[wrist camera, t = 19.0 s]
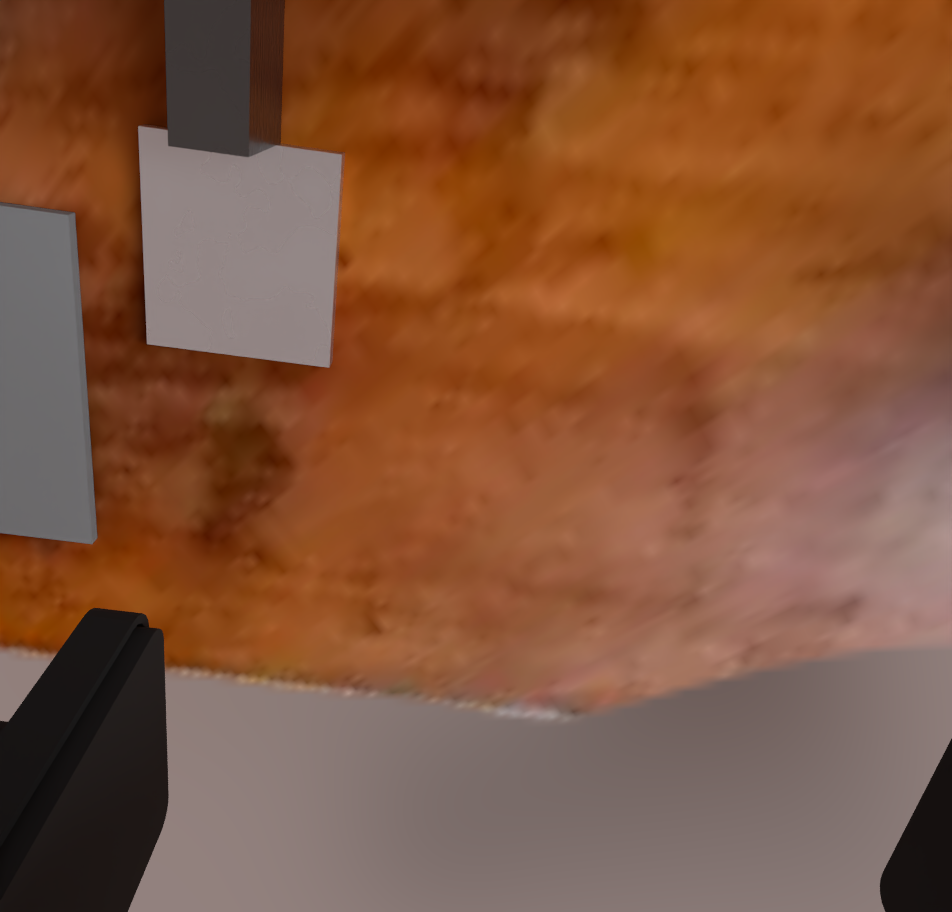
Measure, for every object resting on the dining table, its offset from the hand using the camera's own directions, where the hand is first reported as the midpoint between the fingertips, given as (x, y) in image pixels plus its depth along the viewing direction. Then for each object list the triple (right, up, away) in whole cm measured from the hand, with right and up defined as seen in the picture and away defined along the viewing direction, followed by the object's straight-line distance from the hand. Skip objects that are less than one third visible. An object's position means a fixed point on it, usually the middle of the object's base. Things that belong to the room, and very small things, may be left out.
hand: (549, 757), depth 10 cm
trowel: (-10, +17, +24) cm, 31 cm away
